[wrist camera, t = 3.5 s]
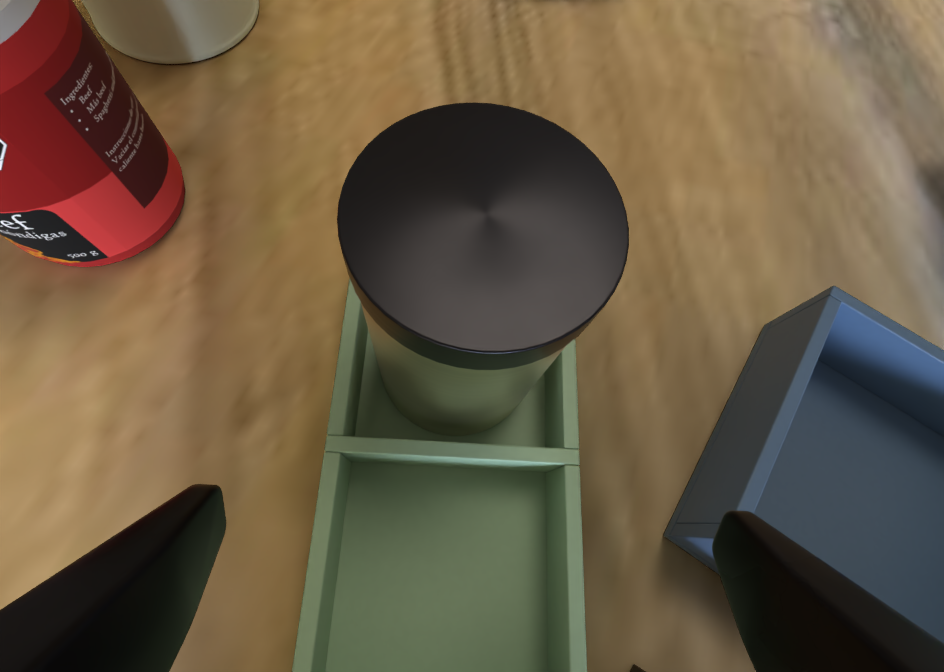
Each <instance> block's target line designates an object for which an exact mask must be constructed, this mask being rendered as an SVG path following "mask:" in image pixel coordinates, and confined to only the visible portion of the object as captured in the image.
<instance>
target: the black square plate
mask: <svg viewBox="0 0 944 672" xmlns="http://www.w3.org/2000/svg"><path fill="white" fill-rule="evenodd" d="M630 672H646V671H644V670H643V669H641V668H640V667H638V666H637V665H635V664H634V665H633V667H632V669H631V671H630Z"/></svg>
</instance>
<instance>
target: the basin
mask: <svg viewBox="0 0 944 672" xmlns="http://www.w3.org/2000/svg"><path fill="white" fill-rule="evenodd" d="M730 510H736V511H749V512H752V513H754V514H755V515H757V516H758V517H760V518H761V519H762V520H764V521H765V522H767V523H768V524H770V525H771V526H773V527H774V528H776V529H777V530H779V531H780V532H781V533H783V534H784V535H786V536H787V537H789V538H790V539H792V540H793V541H795V542H796V543H798V544H799V545H801V546H802V547H803V548H805V549H806V550H808V551H809V552H811V553H812V554H814V555H815V556H817V557H818V558H820V559H821V560H823V561H824V562H825V563H827V564H828V565H830V566H831V567H833V568H834V569H836V570H837V571H839V572H840V573H842V574H843V575H844V576H846V577H847V578H849V579H850V580H852V581H853V582H855V583H856V584H858V585H859V586H861V587H862V588H864V589H865V590H866V591H868V592H869V593H871V594H872V595H874V596H875V597H877V598H878V599H880V600H881V601H883V602H884V603H886V604H887V605H888V606H890V607H891V608H893V609H894V610H896V611H897V612H899V613H900V614H902V615H903V616H905V617H906V618H907V619H909V620H910V621H912V622H913V623H915V624H916V625H918V626H919V627H921V628H922V629H924V630H925V631H927V632H928V633H929V634H931V635H932V636H934V637H935V638H937V639H938V640H940V641H941V642H943V643H944V350H942V349H940V348H939V347H937V346H935V345H934V344H932V343H930V342H928V341H927V340H925V339H923V338H922V337H920V336H918V335H917V334H915V333H913V332H912V331H910V330H908V329H907V328H905V327H903V326H902V325H900V324H898V323H896V322H895V321H893V320H891V319H890V318H888V317H886V316H885V315H883V314H881V313H880V312H878V311H876V310H875V309H873V308H871V307H870V306H868V305H866V304H864V303H863V302H861V301H859V300H858V299H856V298H854V297H853V296H851V295H849V294H848V293H846V292H844V291H843V290H841V289H839V288H838V287H836V286H832V287H830V288H828V289H827V290H825V291H823V292H821V293H820V294H818V295H816V296H814V297H813V298H811V299H809V300H808V301H806V302H804V303H802V304H801V305H799V306H797V307H795V308H794V309H792V310H790V311H788V312H787V313H785V314H783V315H781V316H780V317H778V318H776V319H774V320H773V321H771V322H769V323H767V324H765V325H764V327H763V329H762V331H761V334H760V336H759V338H758V340H757V342H756V344H755V346H754V348H753V350H752V352H751V354H750V356H749V358H748V361H747V363H746V365H745V367H744V369H743V371H742V373H741V375H740V377H739V379H738V381H737V383H736V385H735V388H734V390H733V392H732V394H731V396H730V398H729V400H728V402H727V404H726V406H725V408H724V410H723V412H722V415H721V417H720V419H719V421H718V423H717V425H716V427H715V429H714V431H713V433H712V435H711V437H710V439H709V442H708V444H707V446H706V448H705V450H704V452H703V454H702V456H701V458H700V460H699V462H698V464H697V466H696V469H695V471H694V473H693V475H692V477H691V479H690V481H689V483H688V485H687V487H686V489H685V491H684V493H683V496H682V498H681V500H680V502H679V504H678V506H677V508H676V510H675V512H674V514H673V516H672V518H671V521H670V523H669V525H668V527H667V529H666V531H665V533H664V536H665V537H666V538H668V539H669V540H670V541H672V542H673V543H675V544H676V545H678V546H679V547H680V548H682V549H683V550H685V551H686V552H688V553H689V554H690V555H692V556H693V557H695V558H696V559H698V560H699V561H701V562H702V563H703V564H705V565H706V566H708V567H709V568H711V569H712V570H713V571H715V572H716V573H718V574H719V572H718V569H717V566H716V563H715V560H714V557H713V553H712V543H713V540H714V537H715V535H716V532H717V530H718V527H719V525H720V522H721V520H722V518H723V515H724V514H725V513H726V512H727V511H730Z"/></svg>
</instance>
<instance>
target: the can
mask: <svg viewBox="0 0 944 672" xmlns="http://www.w3.org/2000/svg"><path fill="white" fill-rule="evenodd" d="M81 1H82V3H83V4H84V6H85V8H86V9H87V11H88V13H89V14H90V16H91V18H92V21H93V24H94V26H95V28H96V30H97V31H98V33H99V34H100V35H101V37H102V38H103V39H104V40H105V41H106V42H107V43H108V44H110V45H111V46H112V47H114V48H115V49H116V50H118V51H120V52H122V53H123V54H126V55H128V56H130V57H133V58H136V59H139V60H143V61H147V62H153V63H161V64H181V63H190V62H195V61H200V60H204V59H207V58H210V57H213V56H215V55H218V54H220V53H222V52H224V51H226V50H228V49H230V48H231V47H233V46H234V45H236V44H237V43H238V42H240V41H241V40H242V39H243V38H244V37H245V36H246V35H247V34H248V32H249V31H250V30H251V28H252V27H253V25H254V23H255V21H256V18H257V15H258V11H259V0H81Z"/></svg>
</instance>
